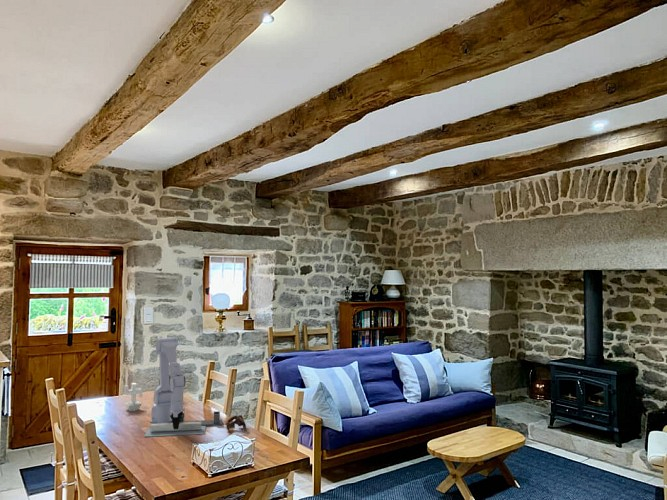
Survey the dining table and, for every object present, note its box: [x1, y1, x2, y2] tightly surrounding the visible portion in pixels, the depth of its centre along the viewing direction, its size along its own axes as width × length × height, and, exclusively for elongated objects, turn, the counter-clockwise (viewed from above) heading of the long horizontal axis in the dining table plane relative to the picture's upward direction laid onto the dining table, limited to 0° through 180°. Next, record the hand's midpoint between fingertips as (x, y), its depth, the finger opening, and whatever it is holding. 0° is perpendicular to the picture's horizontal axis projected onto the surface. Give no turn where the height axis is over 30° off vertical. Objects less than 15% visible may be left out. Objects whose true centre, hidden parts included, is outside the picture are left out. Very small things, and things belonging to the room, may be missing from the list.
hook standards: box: [180, 411, 223, 427], centre depth 258 cm, size 24×7×6 cm, turn 103°
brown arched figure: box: [225, 414, 247, 432], centre depth 252 cm, size 12×10×8 cm
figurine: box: [124, 382, 143, 412], centre depth 283 cm, size 7×9×15 cm
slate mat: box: [143, 426, 207, 438], centre depth 246 cm, size 28×12×1 cm, turn 103°
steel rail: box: [149, 422, 202, 432], centre depth 246 cm, size 24×3×3 cm, turn 103°
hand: (176, 427), depth 246 cm, fingers closed on steel rail, 3 cm apart
